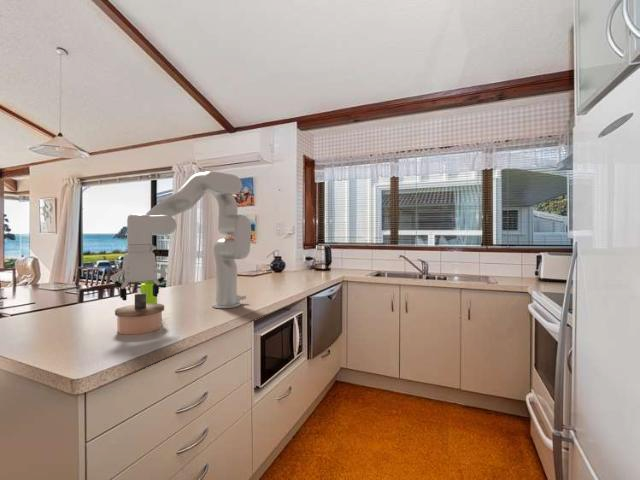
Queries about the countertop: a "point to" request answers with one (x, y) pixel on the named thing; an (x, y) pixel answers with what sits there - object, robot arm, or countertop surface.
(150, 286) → the soap dispenser
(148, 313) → the walnut lid
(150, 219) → the robot arm
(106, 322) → the countertop surface
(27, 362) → the countertop surface
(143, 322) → the terracotta bowl
